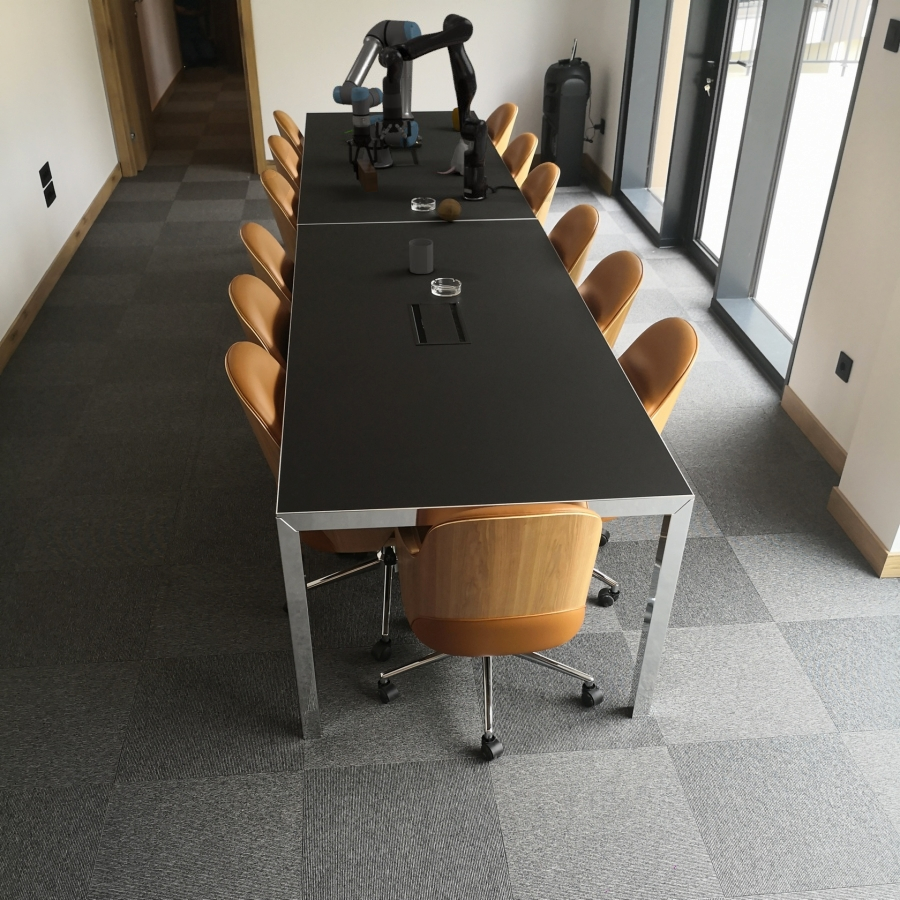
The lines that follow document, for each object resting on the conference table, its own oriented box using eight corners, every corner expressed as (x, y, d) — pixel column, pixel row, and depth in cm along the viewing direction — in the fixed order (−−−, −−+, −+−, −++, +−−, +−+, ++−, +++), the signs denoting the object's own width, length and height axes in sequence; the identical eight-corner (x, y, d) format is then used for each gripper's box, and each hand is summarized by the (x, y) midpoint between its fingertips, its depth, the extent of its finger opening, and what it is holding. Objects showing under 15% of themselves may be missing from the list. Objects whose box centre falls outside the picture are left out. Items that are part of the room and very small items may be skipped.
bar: (357, 178, 395) (356, 159, 391) (368, 177, 397) (367, 158, 392) (365, 192, 376) (364, 172, 372) (378, 191, 377) (377, 171, 373)
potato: (459, 214, 362) (459, 195, 357) (462, 225, 350) (462, 205, 346) (436, 214, 361) (436, 195, 357) (438, 225, 349) (438, 205, 345)
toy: (478, 172, 417) (478, 139, 409) (444, 182, 402) (444, 148, 394) (464, 168, 422) (464, 136, 414) (430, 178, 407) (430, 145, 399)
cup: (409, 265, 311) (408, 238, 306) (432, 265, 312) (431, 238, 307) (410, 274, 304) (409, 246, 299) (433, 273, 305) (433, 246, 299)
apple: (471, 132, 486) (471, 108, 479) (451, 132, 486) (451, 108, 479) (470, 128, 495) (471, 104, 488) (452, 128, 495) (452, 104, 488)
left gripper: (342, 128, 375) (345, 182, 388) (383, 126, 379) (385, 179, 392) (339, 124, 382) (342, 178, 394) (380, 122, 385) (382, 175, 398)
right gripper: (375, 107, 331) (376, 151, 340) (411, 106, 333) (412, 149, 342) (372, 103, 337) (374, 146, 346) (409, 102, 340) (410, 145, 348)
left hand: (364, 178), depth 393 cm, fingers closed on bar, 5 cm apart
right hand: (393, 148), depth 344 cm, fingers open, 8 cm apart
